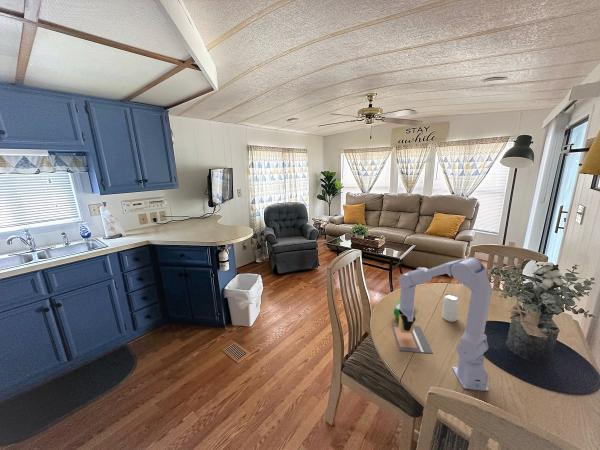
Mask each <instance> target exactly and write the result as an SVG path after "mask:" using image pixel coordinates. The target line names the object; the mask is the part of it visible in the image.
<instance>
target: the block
mask: <svg viewBox="0 0 600 450" xmlns="http://www.w3.org/2000/svg"><path fill="white" fill-rule="evenodd" d="M401 315H404V314H399V319H398V325H399V328H400V331H401V333H413V327H414V326H415V325H414V323H415V321H414V322H413V324H412V326H411V328H410V331H405V330H404V325H403V320H402V318H401ZM405 316H406V315H405Z"/></svg>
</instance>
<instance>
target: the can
mask: <svg viewBox="0 0 600 450" xmlns="http://www.w3.org/2000/svg"><path fill="white" fill-rule="evenodd" d="M459 301H460V300H459V297H458V296H457V295H455V294H450V293H447V294H445V295H444V297H443V302H442V312H441V313H442V314H441V317H442V319H443V320H444V321H448V322H450V323H455V322H457V320H458V314H459V313H458V312H459V303H460V302H459Z"/></svg>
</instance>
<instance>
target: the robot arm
mask: <svg viewBox="0 0 600 450" xmlns="http://www.w3.org/2000/svg"><path fill="white" fill-rule="evenodd" d="M446 274H447V275H448V276H449V277H451V278H452V277H453V278H454V279H455V280H456V281H458V282H459V283H460V284H462V285H463V286H465V287H466V288H468V289H469V290H470V291H471V293H470V299H469V307H468V312H467V319H466V325H465V330H464V333H463V335H462V336H461V337H460V342H459V343H457V344H456V352H457V354H458V359H457V361H458V362H457V366H452V370H453V372H454V373H455V375H456V377H457V379H458V381H459V383H460V385H461V386H462V388H463V389H466V390H474V391H476V390H477V391H485V392H489V391H490V389H489V387H488V386H487V385H488V378H489V373H488V372H487V371H486V367H485V365H484V364H485V361H484V360H485V357H484V353H486V352H487V351H488V350H489V344H488V341H487V338H488V337H487V335H486V334H485V330H486V326H487V325H486V324H487V318H488V314H489V307H490V303H491V302H490V301H491V297H492V291H493V287H492V284H491V282H490V279H489V277H488V274H487V267H486V266H485V265H484V263H482V261H480V260H479V259H478V258H476V257H467V258H461V259H457V260H453V261H449V262H445V263H442V264H440V265H437V266H434V267H431V268H427V267H422V266H419V267H416V269H415V270H408V271H407V272H406V273H401V274H400V275H399V276H398V278H397V282H398V283H399V285H400V293H399V294H400V296H399V299H400V305H399V306H397V310H399V312H400V314H404V315H401V318H402V320H403V325H404V330H405V331H410V328H411V326H412V324H413V322H414V323H415V321H416V320H417V319H416V316H414V312H415V307H414V306H415V295H416V286H418V285H420V284H426V283H428V282H430V281H431V280H432V279H433V277H438V276H441V275H446ZM405 315H406V316H405Z"/></svg>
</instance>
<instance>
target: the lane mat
mask: <svg viewBox="0 0 600 450" xmlns="http://www.w3.org/2000/svg"><path fill="white" fill-rule="evenodd" d="M391 327H392V330H393V333H394V337H395V340H396V343H397V346H398V350H399V352H411V353H421V354H423V353H424V354H433V353H434V352H433V350H432V348H431V346H430V344H429V342H428V340H427V337H426V336H425V334H424V332H423V329H422V328H421V326H420V325H419V326H418V325H414V327H413V333H401V331H400V328H399V324H391Z"/></svg>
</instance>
